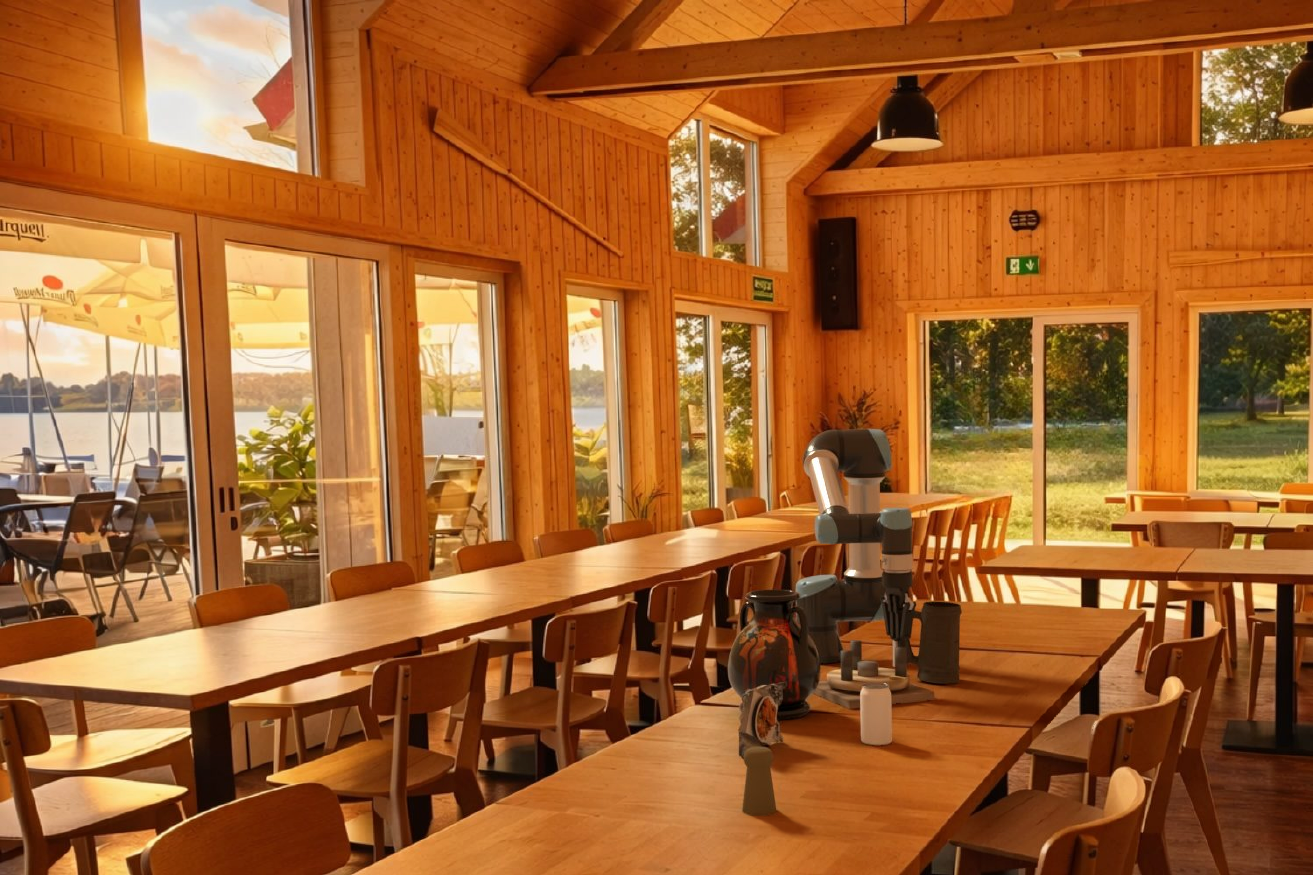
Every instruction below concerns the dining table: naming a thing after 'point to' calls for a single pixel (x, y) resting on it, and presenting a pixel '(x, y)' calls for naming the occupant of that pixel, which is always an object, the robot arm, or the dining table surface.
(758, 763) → the brown tapered piece
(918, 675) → the beer stein
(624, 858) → the dining table surface
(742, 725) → the meal
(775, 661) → the amphora vase
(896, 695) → the stand
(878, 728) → the can
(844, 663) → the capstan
